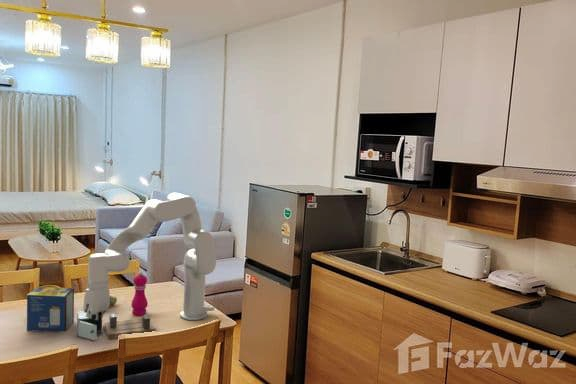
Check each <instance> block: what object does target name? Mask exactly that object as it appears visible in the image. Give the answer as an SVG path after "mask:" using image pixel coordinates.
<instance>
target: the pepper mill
mask: <svg viewBox="0 0 576 384" xmlns="http://www.w3.org/2000/svg"><path fill="white" fill-rule="evenodd" d="M147 283H148V278H147V276H146V275H145V274H143V272H142V271H139V272H138V274H137V275H136V276H134V277H133V284H134V290H135V291H134V296H133V298H132V300H131V305H130V307H131V308H132V313H131V314H132V315H133V316H136V317H141V316H144V315H147V308H148V303H149V302H148V299H147V297H146V294H145V290H146V289H147V288H146V284H147Z"/></svg>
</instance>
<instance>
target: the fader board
mask: <svg viewBox="0 0 576 384" xmlns="http://www.w3.org/2000/svg"><path fill="white" fill-rule="evenodd" d="M103 327H104V331H105V333H106V337H107V339H108V340H113V339H119V338H118V336H119V335H121V334H132V333H144V332H152V331H157V329H156V326H155V325H154V323H153V321H152V320H151V317H150V316H149V315H148V314H145V315H142V318H135V319H126V320H125V319H124V320H117V327H112V328H110V325H109V321H107V322H104V326H103Z"/></svg>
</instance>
